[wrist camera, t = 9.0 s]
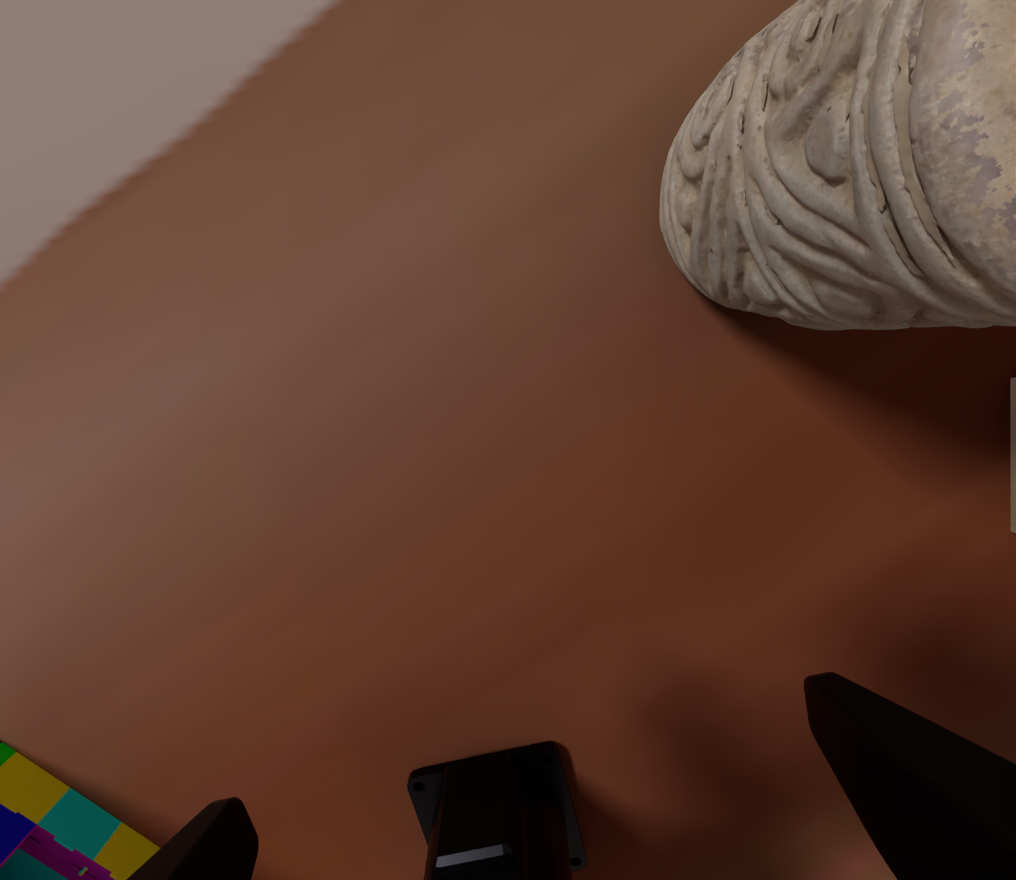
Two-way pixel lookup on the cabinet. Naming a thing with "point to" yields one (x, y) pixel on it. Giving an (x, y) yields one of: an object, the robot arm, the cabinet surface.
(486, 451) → the cabinet surface
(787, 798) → the cabinet surface
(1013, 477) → the birch brick
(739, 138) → the carving
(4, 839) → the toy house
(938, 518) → the cabinet surface
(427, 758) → the cabinet surface
